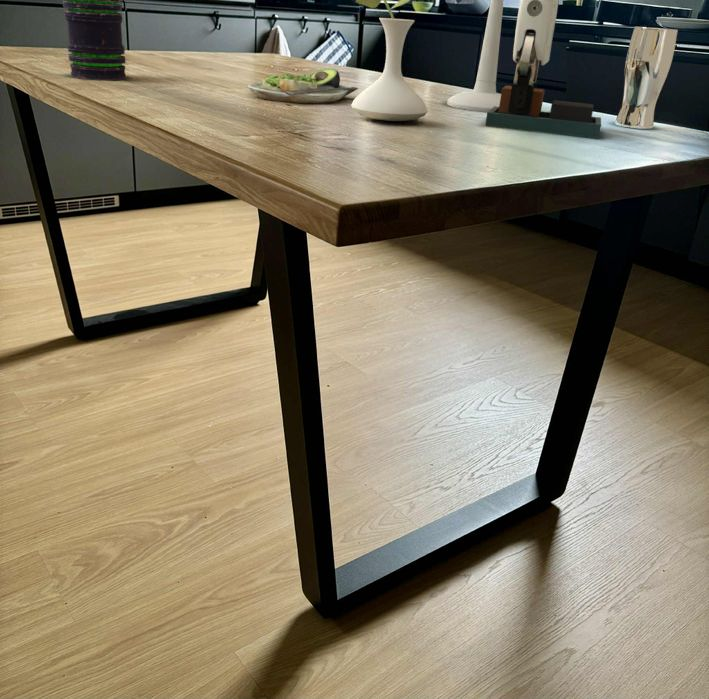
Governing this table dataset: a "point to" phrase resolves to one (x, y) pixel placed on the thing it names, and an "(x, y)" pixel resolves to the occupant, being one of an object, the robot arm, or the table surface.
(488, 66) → the candlestick
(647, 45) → the beer glass
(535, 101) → the pad
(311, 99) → the salad plate
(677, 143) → the table surface
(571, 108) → the pad
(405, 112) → the flower in vase
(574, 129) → the frame
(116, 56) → the storage jar
